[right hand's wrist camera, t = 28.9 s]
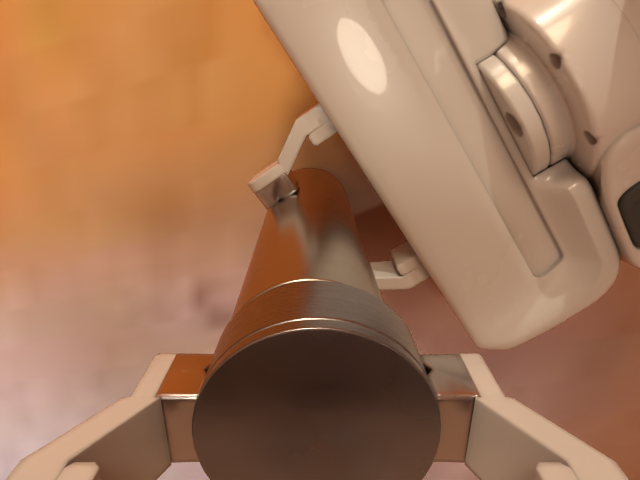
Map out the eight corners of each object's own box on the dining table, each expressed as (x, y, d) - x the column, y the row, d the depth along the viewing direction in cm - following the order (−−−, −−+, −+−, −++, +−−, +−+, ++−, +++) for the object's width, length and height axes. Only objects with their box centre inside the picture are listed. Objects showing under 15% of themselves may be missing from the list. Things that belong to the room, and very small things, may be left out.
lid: (197, 289, 10) (167, 340, 8) (415, 270, 10) (441, 316, 8) (232, 458, 11) (215, 535, 9) (419, 443, 11) (442, 518, 9)
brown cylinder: (260, 181, 25) (173, 353, 9) (334, 157, 25) (384, 291, 9) (286, 250, 27) (251, 505, 10) (356, 228, 26) (433, 458, 10)
